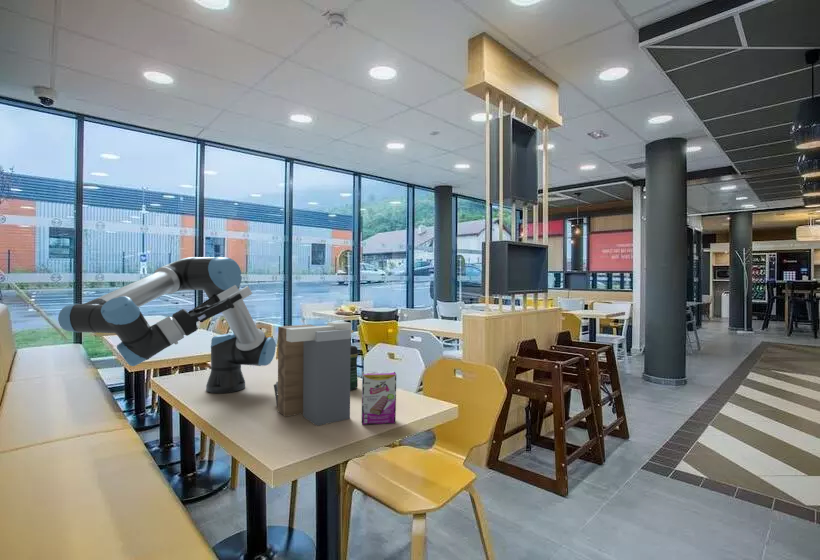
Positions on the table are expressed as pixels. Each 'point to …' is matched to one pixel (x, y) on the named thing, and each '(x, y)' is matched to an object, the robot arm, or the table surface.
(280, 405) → the tall wooden block stack
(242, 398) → the table surface
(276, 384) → the electrical switch
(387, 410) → the candy bar box
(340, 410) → the socket block
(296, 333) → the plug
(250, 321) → the robot arm
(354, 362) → the coffee jar
